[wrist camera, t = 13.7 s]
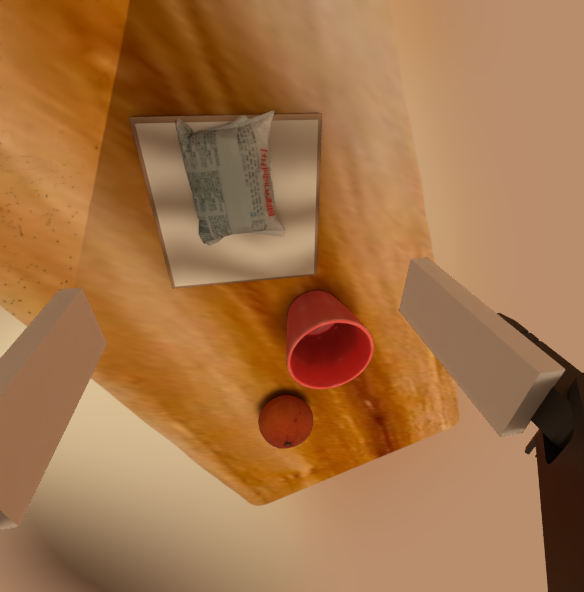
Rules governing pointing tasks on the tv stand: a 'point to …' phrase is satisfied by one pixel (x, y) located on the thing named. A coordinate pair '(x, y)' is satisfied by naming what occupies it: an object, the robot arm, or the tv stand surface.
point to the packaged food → (231, 177)
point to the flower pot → (325, 342)
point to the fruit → (285, 421)
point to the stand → (238, 247)
